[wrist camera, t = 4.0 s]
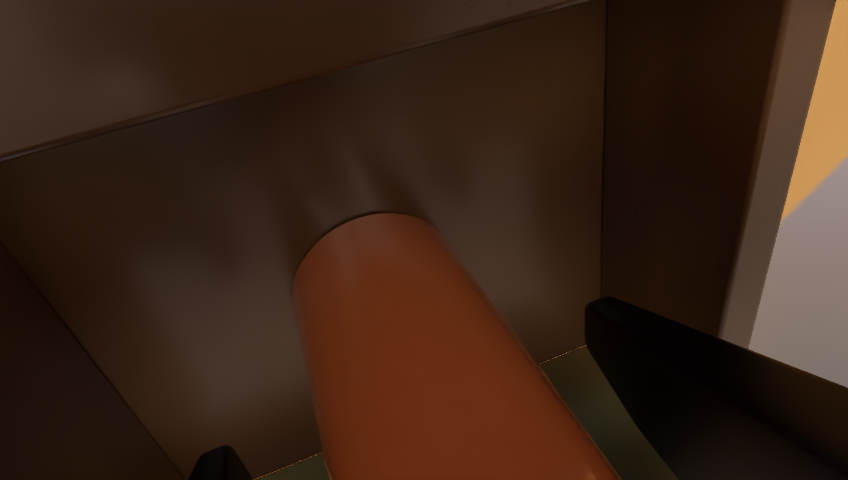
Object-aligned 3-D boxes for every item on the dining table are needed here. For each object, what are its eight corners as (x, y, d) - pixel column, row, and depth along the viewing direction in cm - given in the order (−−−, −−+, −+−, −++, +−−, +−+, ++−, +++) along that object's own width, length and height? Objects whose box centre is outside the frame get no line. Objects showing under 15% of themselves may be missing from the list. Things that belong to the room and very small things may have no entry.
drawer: (613, 446, 19) (715, 579, 15) (248, 610, 17) (259, 819, 13) (647, -190, 9) (985, -278, 5) (-280, 0, 6) (-1024, 118, 3)
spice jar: (441, 187, 10) (867, 687, 3) (465, 318, 12) (766, 797, 5) (265, 246, 9) (380, 979, 3) (319, 373, 11) (462, 987, 5)
